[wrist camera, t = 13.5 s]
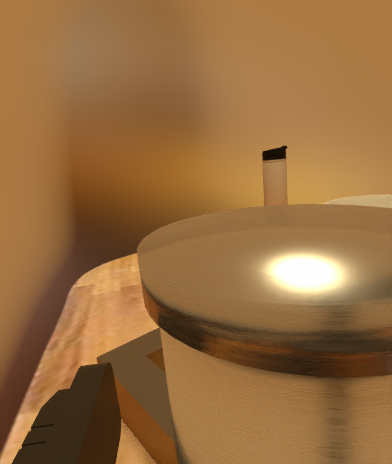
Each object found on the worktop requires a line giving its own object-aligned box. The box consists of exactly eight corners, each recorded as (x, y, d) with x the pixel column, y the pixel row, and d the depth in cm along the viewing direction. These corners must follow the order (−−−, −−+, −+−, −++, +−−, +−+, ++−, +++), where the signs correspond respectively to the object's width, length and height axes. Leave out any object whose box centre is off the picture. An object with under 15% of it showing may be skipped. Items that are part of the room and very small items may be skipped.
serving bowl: (332, 222, 78) (332, 195, 76) (435, 224, 66) (438, 193, 65) (313, 243, 61) (312, 209, 59) (447, 252, 49) (451, 210, 48)
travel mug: (285, 222, 82) (283, 145, 77) (262, 222, 85) (258, 148, 81) (291, 218, 87) (289, 145, 83) (268, 217, 90) (266, 148, 86)
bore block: (211, 334, 32) (208, 303, 31) (318, 392, 23) (318, 351, 22) (103, 395, 25) (96, 357, 24) (198, 515, 16) (191, 461, 15)
